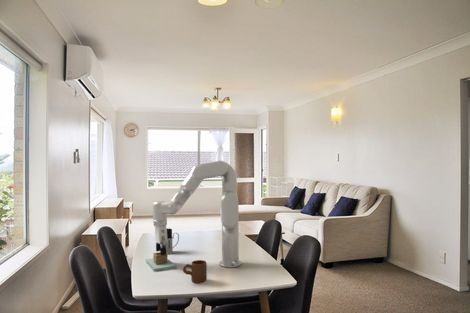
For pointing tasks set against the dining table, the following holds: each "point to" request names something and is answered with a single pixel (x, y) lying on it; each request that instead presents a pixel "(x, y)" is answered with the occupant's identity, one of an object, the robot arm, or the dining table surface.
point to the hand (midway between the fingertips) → (161, 252)
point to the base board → (160, 265)
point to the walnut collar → (159, 258)
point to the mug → (197, 271)
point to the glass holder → (170, 241)
